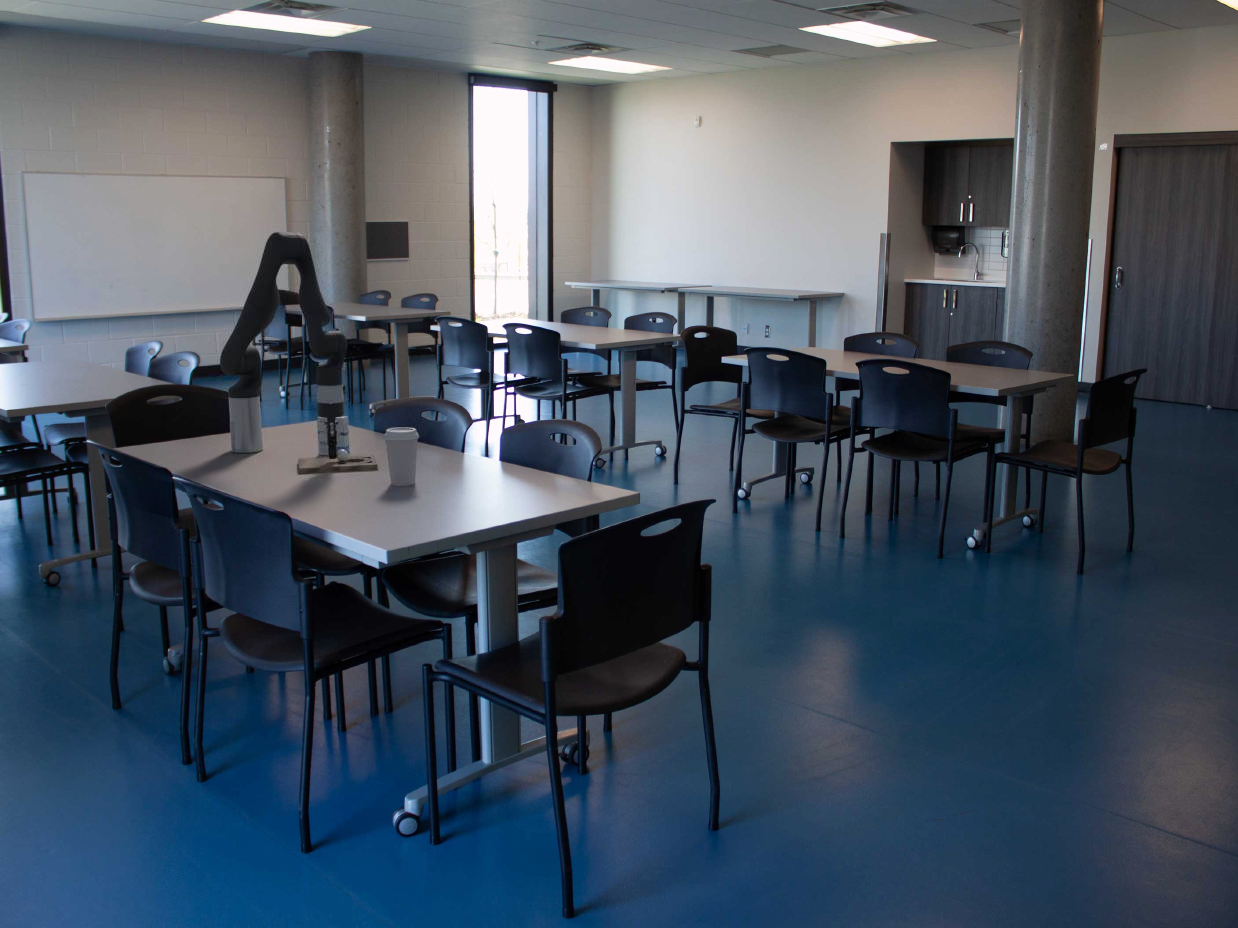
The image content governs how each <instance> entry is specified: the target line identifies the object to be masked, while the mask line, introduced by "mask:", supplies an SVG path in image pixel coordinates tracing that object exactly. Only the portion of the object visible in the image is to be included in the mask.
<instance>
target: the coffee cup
mask: <svg viewBox="0 0 1238 928" xmlns="http://www.w3.org/2000/svg"><path fill="white" fill-rule="evenodd" d="M419 438H420V435H419V432H417V429H416V428H415V427H407V426H406V427H402V426H401V427H390V428H386V430H385V433H384V435H383V440H385V447H386V448H385V449H386V454H387V462H388V472H389V478H390V484H391V486H393V485H394V486H395V487H409V485H410V486H413V485H416V473H417V454H418V453H417V452H418V440H419ZM394 486H393V487H394Z"/></svg>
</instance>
